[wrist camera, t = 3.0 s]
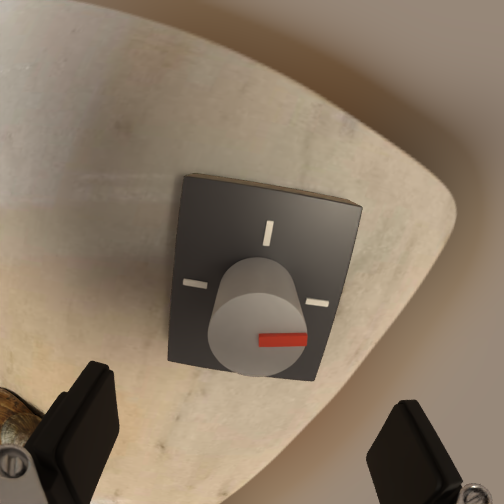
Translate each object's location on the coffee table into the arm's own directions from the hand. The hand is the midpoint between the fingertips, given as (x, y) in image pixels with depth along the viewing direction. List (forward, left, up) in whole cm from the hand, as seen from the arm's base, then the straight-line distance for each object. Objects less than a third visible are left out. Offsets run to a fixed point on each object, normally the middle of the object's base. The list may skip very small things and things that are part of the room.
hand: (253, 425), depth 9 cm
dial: (0, 0, -10) cm, 10 cm away
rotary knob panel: (0, 0, -13) cm, 13 cm away
